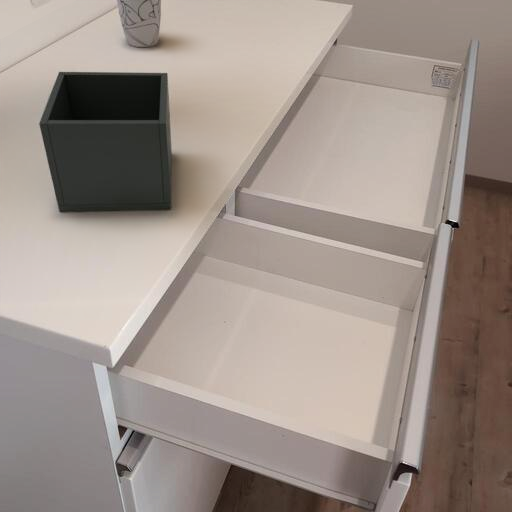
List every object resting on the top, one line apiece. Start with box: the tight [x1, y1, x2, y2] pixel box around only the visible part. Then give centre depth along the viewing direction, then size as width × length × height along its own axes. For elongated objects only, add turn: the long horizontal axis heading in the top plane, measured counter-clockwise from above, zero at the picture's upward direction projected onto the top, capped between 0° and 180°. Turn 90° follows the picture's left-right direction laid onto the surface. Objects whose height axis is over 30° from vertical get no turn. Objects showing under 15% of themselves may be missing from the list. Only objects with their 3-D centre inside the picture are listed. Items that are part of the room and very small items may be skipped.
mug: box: [116, 0, 162, 48], centre depth 107 cm, size 11×8×10 cm
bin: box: [39, 71, 173, 213], centre depth 69 cm, size 14×14×12 cm
